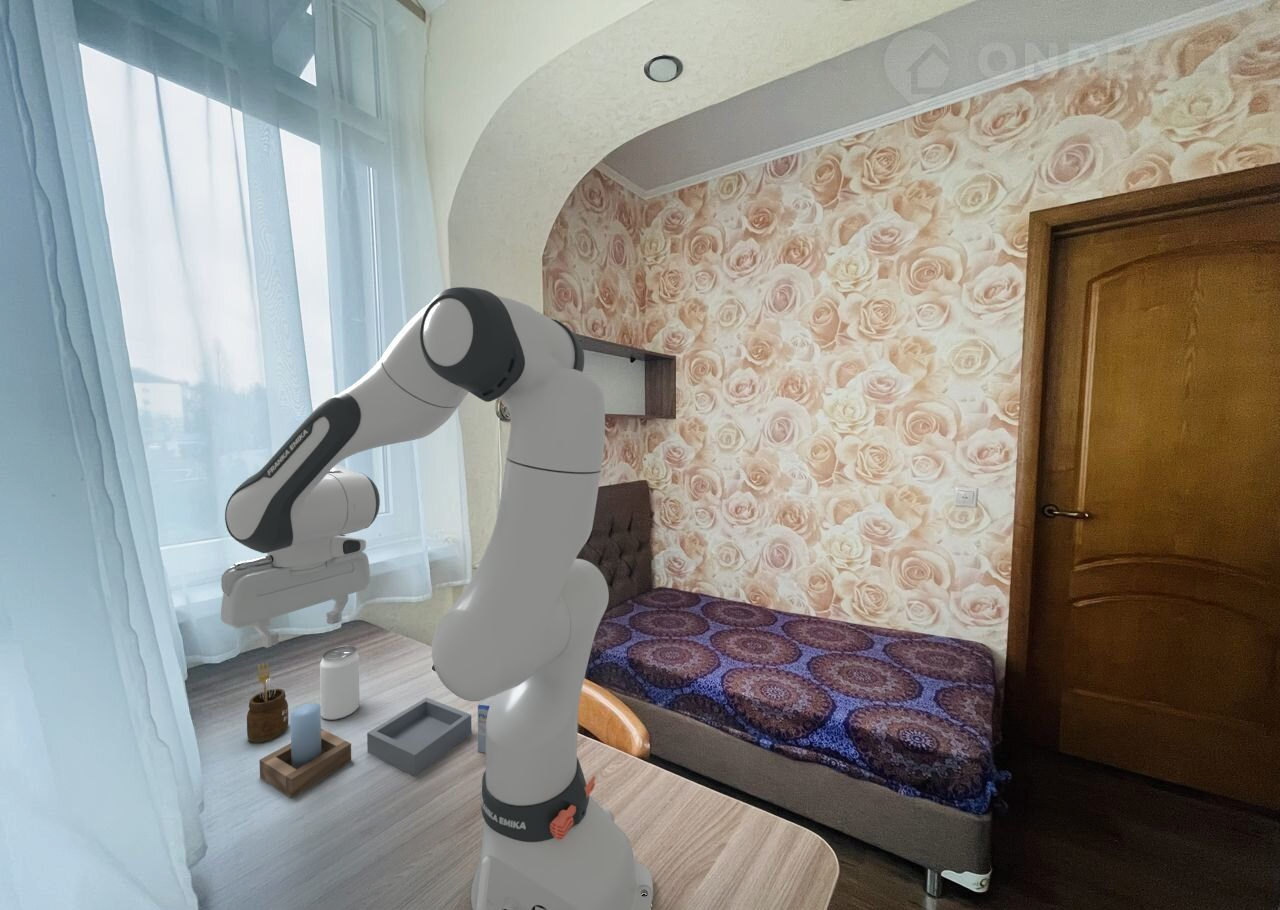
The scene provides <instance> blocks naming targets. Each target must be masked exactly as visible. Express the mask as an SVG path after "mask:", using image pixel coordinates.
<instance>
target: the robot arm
mask: <svg viewBox="0 0 1280 910" xmlns="http://www.w3.org/2000/svg"><path fill="white" fill-rule="evenodd" d="M584 367H585V353H584V349H583V345H582V343H581V341H580V340H579V338H578V336H576V333H574V331H572V330H571V329H570V328H569V327H568V326H567V325H566V324H564V323H563V322H561V321H559V320H556V319H555V318H554V319H553V318H550V317H548V316H546V315H545V314H543V313H542V312H539V311H537V310H536V309H534V308H533V307H532V306H529V304H528V305H527V304H525V303H522V302H520V301H517V300H514V299H512V298H511V299H510V298H507V297H504V296H499V295H496V294H494V293H493V292H490V291H489V290H486V289H482V288H475V287H469V286H468V287H467V286H460V287H458V286H457V287H456V286H455V287H450V288H447V289H444V290H442V291H441V292H439V293H438V294H437V295H436V296H434V297H433V298H432V299H431V301H430V302H429V304H427V305H425V307H423V308H421V310H420V311H418V313H417V314H415V315H414V316H413V317H412V318H411V319H410V320H409V321H408V323H406V325H405V326H404V327H402V329H401V330H400V331H399V332H398V334H397V335H396V336H395V338H394V339H393V340H392V341H391V343H390V344H389V345H388V347H387V348H386V350H385V351H384V352H383V354H382V356H381V358H380V359H379V360H378V362H377V363H376V364H375V365H374V366H373V367H372V368H371V369H370V370H369V371H368V372H367V373H366V374H365V375H364V376H362V377H361V378H360V379H359V380H358V381H356V382H355V383H354V384H352V385H351V386H349V387H348V388H346V389H345V390H343V391H342V392H340V393H338V394H335V395H334V396H332V397H330V398H328V399H326V400H325V401H323V402H322V403H321V404H320V405H319V406H318V407H316V409H315V410H313V412H311V413H310V415H309V416H308V417H307V418H306V419H305V420H304V421H303V422H302V423H301V425H299V426H298V428H297V429H296V430H295V431H294V432H293V433H292V434H291V436H289V438H288V439H287V440H286V441H285V443H283V445H282V446H281V447H280V448H279V449H278V450H277V451H276V453H275V454H273V455H272V456H271V458H270V459H269V461H268V462H266V464H265V465H264V466H263V467H262V468H261V469H260V470H258V472H256V473H255V474H253V475H251V476H249V477H248V478H247V479H246V480H244V482H242V483H241V484H239V486H238V487H237V488H236V489H235V490H234V491H233V493H232V494H231V495H230V497H229V499H228V500H227V503H226V506H225V510H224V522H225V526H226V529H227V532H228V533H229V535H230V536H231V537H232V538H233V539H234V540H235V541H237V542H238V543H239V544H241V545H243V546H245V547H246V548H249V549H250V550H252V551H255V552H258V553H261V554H266V556H261V557H257V558H254V559H250V560H243V561H238V562H235V563H234V564H233V565H232V566H230V567H228V568H227V569H226V570H225V571H224V572H223V574H222V575H221V579H220V581H221V583H220V584H221V590H222V592H223V593H222V599H221V600H222V601H221V608H220V609H221V610H220V620H221V621H222V622H223V624H226V625H227V626H229V627H232V628H234V629H235V628H236V629H241V628H245V627H247V626H251V627H252V628H253V629H254V630H255V631H256V632H258V634H260V636H261V645H262V647H264V648H266V649H267V648H270V647H273V646H275V645H278V644H279V643H280V640H279V637H280V636H279V634H280V633H279V632H275V631H273V630H269V629H268V628H267V627H269V626H270V625H271V620H272V619H273V618H276V617H279V616H283V615H287V614H290V613H293V612H296V611H299V610H303V609H306V608H310V607H312V606H316V605H319V604H322V603H327V602H329V601H331V600H332V601H335V602H334V604H333V607H332V608H331V610H330V611H328V612H326V623H327V624H328V625H334V624H338V623H340V622H342V618H343V617H342V612H343V610H344V609H345V607H346V605H347V604H348V602H349V595H351V594H354V593H357V592H360V591H364V590H366V588H367V587H368V585H369V584H370V581H371V580H370V579H371V577H370V576H371V574H370V573H371V572H370V569H371V568H370V561H369V557H368V555H367V554H366V553H365V552H364V551H365V550H366V548H367V541H366V539H364V538H360V537H356V536H352V535H347V534H352V533H357V532H359V531H362V530H365V529H368V528H369V527H370V526H371V525H372V524H373V523H374V522H375V520H376V518H377V516H378V514H379V510H380V504H381V503H380V502H381V500H380V497H381V496H380V493H379V489H378V487H377V484H376V483H375V482H374V481H373V480H372V479H371V478H370V477H369V476H368V475H366V474H364V473H361V472H355V471H352V470H350V469H348V468H346V467H344V466H343V465H342V464H339V463H341V462H342V461H343V460H345V459H347V458H349V457H352V456H353V455H354V456H355V455H356V454H359V453H362V452H365V451H368V450H373V449H376V448H380V447H384V446H388V445H389V446H390V445H394V444H399V443H405V442H409V441H414V440H415V441H416V440H420V439H423V438H425V437H427V436H430V435H431V434H433V433H434V432H435V431H436V430H438V429H440V428H441V427H442V426H443V425H444V424H445V423H446V422H447V421H448V420H449V419H450V418H451V417H452V415H454V413H455V412H456V411H457V409H458V407H460V405H461V403H463V401H464V399H465V398H466V396H467V395H468V394H469V393H471V394H472V395H474V396H475V397H477V398H478V399H480V400H481V401H482V402H483V401H484V402H485V403H490V402H493V401H495V400H497V399H499V400H501V402H502V403H503V404H504V405H505V407H506V410H508V413H509V417H510V426H509V427H510V429H509V430H510V431H509V432H510V433H509V436H508V437H509V438H508V445H507V449H506V450H507V451H506V457H505V465H504V472H503V473H504V474H503V481H502V487H501V494H500V500H499V505H498V511H497V516H496V521H495V525H494V528H493V531H492V533H491V536H490V539H489V542H488V544H487V546H486V548H485V551H484V553H483V555H482V557H481V560H480V561H479V564H478V566H477V567H476V570H475V572H474V573H473V576H472V577H471V579H470V581H469V582H468V585H467V586H466V588H465V589H464V591H463V592H462V594H461V595H460V596H459V598H457V600H456V601H455V602H454V603H453V605H452V606H451V607H450V608H449V610H447V612H446V613H445V614H444V615H443V616H442V617H441V618H440V620H439V621H438V623H437V624H436V627H435V629H434V632H433V636H432V640H431V641H432V642H431V655H432V656H431V657H432V663H433V668H434V670H435V673H436V675H437V678H439V680H440V681H441V683H442V684H443V686H444V687H445V688H446V689H447V690H449V691H450V692H451V693H452V694H453V695H455V696H456V697H459V698H460V699H462V700H464V701H468V702H482V701H483V700H485V699H487V698H490V697H492V696H495V697H494V698H493V700H492V703H491V705H490V707H489V710H488V714H487V718H486V753H485V770H484V771H483V775H482V779H481V794H480V802H481V815H482V817H483V821H484V822H483V829H482V838H481V845H480V846H481V847H480V852H479V858H478V863H477V867H476V871H475V874H474V877H473V880H472V884H471V891H470V901H471V902H470V903H471V907H472V910H650V908H651V904H652V900H653V901H654V881H653V875H652V872H651V871H650V870H649V869H648V868H647V867H646V866H644V865H643V864H641V863H640V862H639V861H637V860H636V859H635V857H634V851H633V847H632V844H631V841H630V839H629V837H628V835H627V834H626V833H625V831H623V830H622V828H620V826H619V825H618V824H617V823H616V822H615V817H614V814H613V812H612V810H611V809H610V808H608V807H602V806H600V804H599V803H598V802H597V801H596V799H595V798H594V797H593V796H592V795H591V793H592V791H594V788H595V786H596V782H595V780H596V776H595V775H594V776H592V777H591V779H590V780H589V781H588V782H587V781H586V777H585V775H584V773H583V769H582V767H581V764H580V760H579V758H578V730H579V729H578V728H579V726H578V725H579V709H580V708H579V707H580V701H581V695H582V692H583V691H582V689H583V686H584V681H585V676H586V672H587V668H588V664H589V659H590V656H591V652H592V647H593V643H594V640H595V636H596V632H597V631H598V627H599V625H600V623H601V621H602V619H603V616H604V614H605V612H606V610H607V607H608V604H609V598H610V597H609V596H610V595H609V594H610V593H609V588H608V583H607V580H606V578H605V576H604V574H603V573H602V572H601V570H600V569H599V568H598V567H597V566H596V565H595V564H593V563H592V562H590V561H588V560H586V559H583V558H577V557H578V555H579V554H580V552H581V551H582V549H583V547H585V545H586V543H587V542H588V540H589V538H590V536H591V533H592V530H593V527H594V526H593V525H594V519H595V515H596V514H595V513H596V508H597V507H596V505H597V502H598V501H597V500H598V493H599V487H600V480H601V475H602V474H601V473H602V467H603V459H604V450H605V437H606V436H605V435H606V434H605V432H606V408H605V397H604V396H605V395H604V393H603V392H604V391H603V390H602V387H601V386H600V384H599V383H598V382H597V381H596V380H595V379H594V378H592V377H591V376H590V375H588V374H586V373H585V372H584ZM642 893H646V894H647V896H646V895H643V896H642V895H641V894H642Z"/></svg>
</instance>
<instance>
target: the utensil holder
mask: <svg viewBox="0 0 1280 910" xmlns="http://www.w3.org/2000/svg"><path fill="white" fill-rule="evenodd" d="M265 664H266V667H265ZM269 666H270V665H269V662H268V661H267V662H265V663H262V664H261V665H260V664H258V665H257V670H258V672H257V673H258V674H257V675H258V682H259V683H261V684H260V687H259V688H260V692H259V693H257V694H255V695H253V696H252V697H251V698H250V699H249V703H248V711H247V713H246V714H247V715H246V736H247V739H248V741H249V742H250V743H255V744H256V743H264V742H269V741H271V740H273V739H275V738H278V737H279V736H281V735H283V734H284V733H285V732H286V730H287V729H288V728H289V727H288V726H289V703H288V701H287V699H286V691H285V690H283V689H282V688H274V687H272V688H270V687H271V686H270V683H268V682H270V681H271V682H272V684H273V686H276V683H275V681H274V678H271V677H270V676H271V675H270V667H269ZM265 668H266V670H265ZM261 669H262V673H261ZM267 683H268V685H269V686H268V687H269V689H267ZM262 688H263V691H262Z"/></svg>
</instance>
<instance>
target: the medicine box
mask: <svg viewBox="0 0 1280 910" xmlns="http://www.w3.org/2000/svg"><path fill="white" fill-rule="evenodd" d="M494 697H495V696H492V697H490V698H487V699H485V700H482V701H480V703H478V705H477V752H478V753H482V752H484V753H483V754H486V718H487V714H488V710H489V707H490V705H491V703H492V700H493V698H494Z"/></svg>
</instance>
